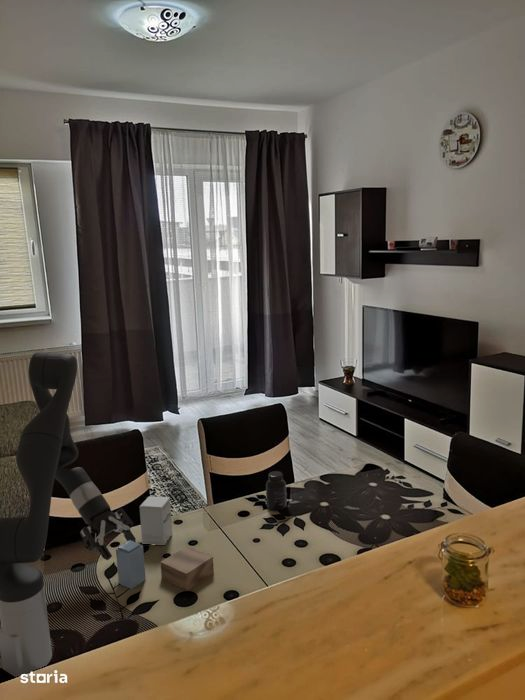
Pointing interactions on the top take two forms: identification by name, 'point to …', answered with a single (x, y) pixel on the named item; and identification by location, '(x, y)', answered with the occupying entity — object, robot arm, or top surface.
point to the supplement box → (156, 520)
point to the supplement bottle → (276, 491)
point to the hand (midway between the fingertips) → (121, 551)
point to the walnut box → (187, 567)
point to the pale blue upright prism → (130, 564)
